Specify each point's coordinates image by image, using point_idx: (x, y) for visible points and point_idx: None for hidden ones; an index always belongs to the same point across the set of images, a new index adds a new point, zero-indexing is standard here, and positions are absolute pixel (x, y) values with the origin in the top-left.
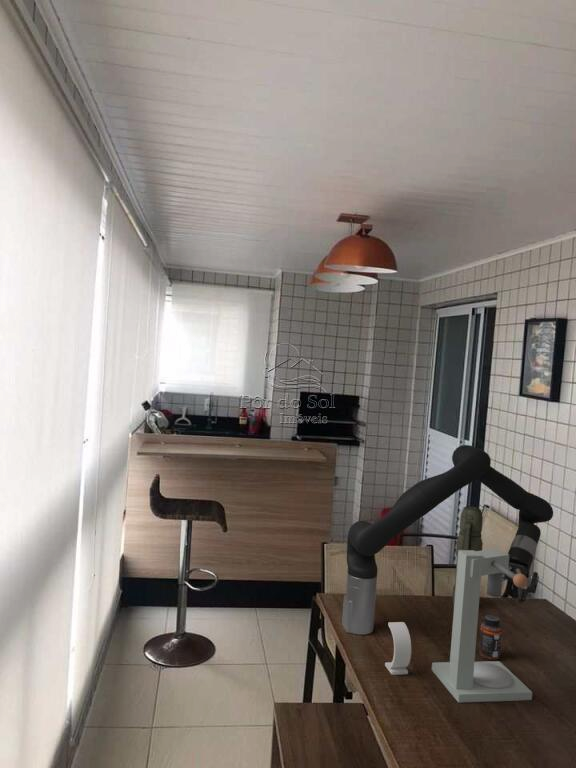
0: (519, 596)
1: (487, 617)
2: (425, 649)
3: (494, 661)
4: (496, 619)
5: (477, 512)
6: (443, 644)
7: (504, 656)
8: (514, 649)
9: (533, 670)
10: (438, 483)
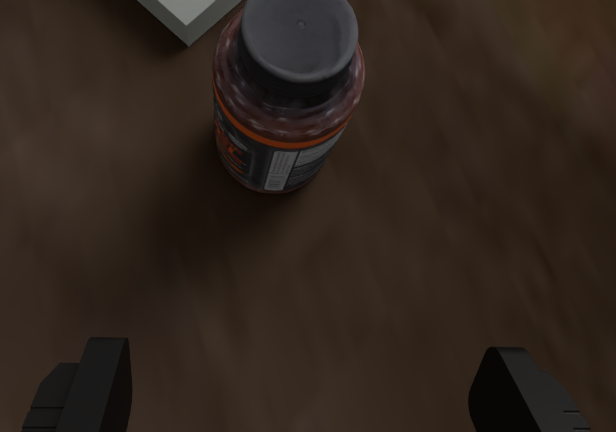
0: (115, 366)
1: (333, 5)
2: (519, 2)
3: (205, 7)
4: (260, 12)
5: None
6: (492, 108)
7: (205, 201)
8: (185, 341)
9: (26, 148)
10: None
